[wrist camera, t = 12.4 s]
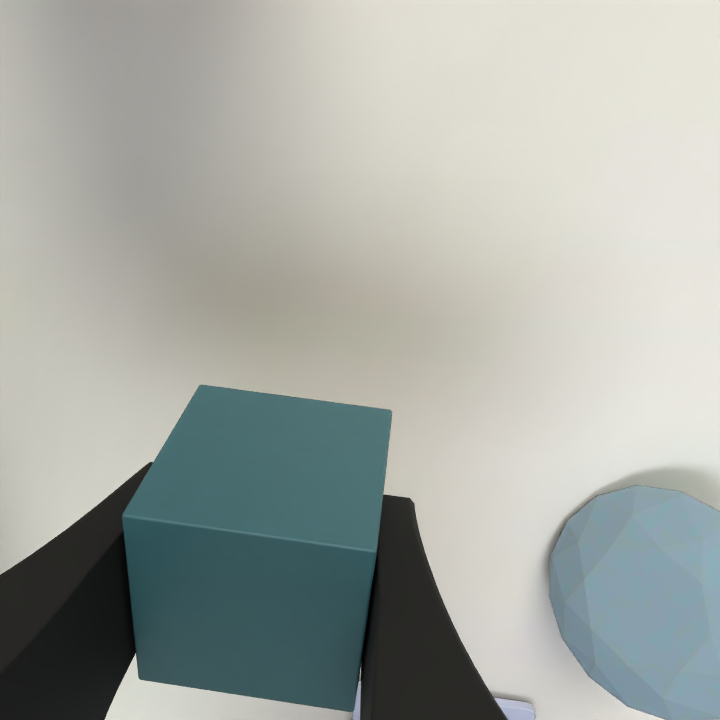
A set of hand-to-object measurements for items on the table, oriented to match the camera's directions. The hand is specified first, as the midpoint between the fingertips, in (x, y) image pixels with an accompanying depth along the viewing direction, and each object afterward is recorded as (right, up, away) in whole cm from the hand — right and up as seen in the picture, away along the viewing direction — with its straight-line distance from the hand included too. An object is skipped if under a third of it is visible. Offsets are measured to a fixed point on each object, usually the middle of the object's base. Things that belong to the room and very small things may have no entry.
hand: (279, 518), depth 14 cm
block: (0, +1, +1) cm, 1 cm away
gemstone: (+12, -4, +12) cm, 17 cm away
